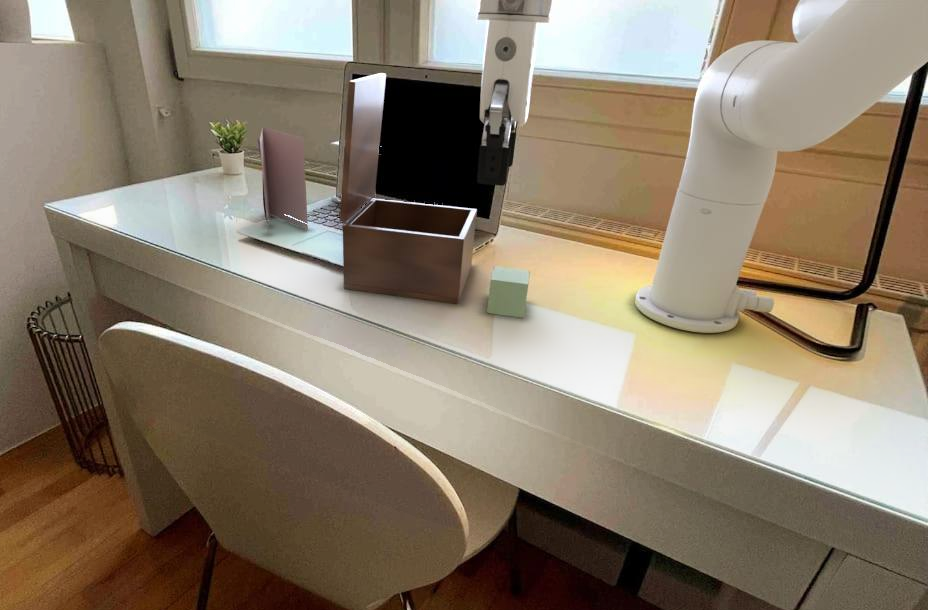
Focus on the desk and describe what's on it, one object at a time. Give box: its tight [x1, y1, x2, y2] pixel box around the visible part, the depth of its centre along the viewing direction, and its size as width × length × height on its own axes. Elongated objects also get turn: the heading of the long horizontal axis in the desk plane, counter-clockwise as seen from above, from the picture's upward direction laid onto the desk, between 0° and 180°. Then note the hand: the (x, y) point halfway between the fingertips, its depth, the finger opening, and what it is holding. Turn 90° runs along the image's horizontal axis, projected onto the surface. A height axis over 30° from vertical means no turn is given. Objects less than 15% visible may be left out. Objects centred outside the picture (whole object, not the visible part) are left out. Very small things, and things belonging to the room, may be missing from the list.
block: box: [486, 265, 531, 319], centre depth 72 cm, size 5×5×5 cm
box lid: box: [339, 72, 387, 223], centre depth 73 cm, size 16×14×1 cm
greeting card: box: [257, 126, 309, 233], centre depth 95 cm, size 11×7×15 cm, turn 11°
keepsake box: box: [342, 197, 478, 305], centre depth 79 cm, size 16×14×9 cm
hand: (495, 174), depth 67 cm, fingers open, 9 cm apart
